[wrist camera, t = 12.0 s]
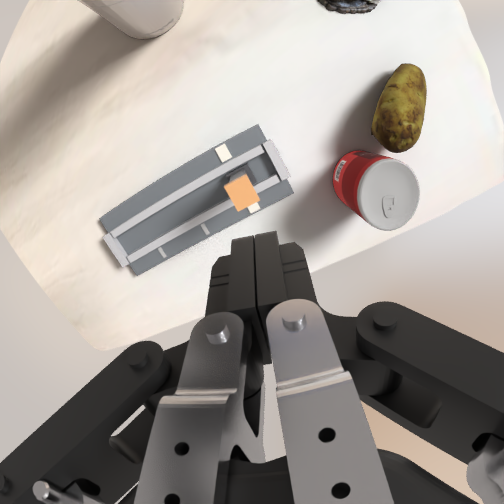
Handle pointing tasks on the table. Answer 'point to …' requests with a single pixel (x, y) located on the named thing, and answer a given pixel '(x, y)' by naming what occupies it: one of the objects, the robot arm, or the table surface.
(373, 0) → the grey rough oval piece
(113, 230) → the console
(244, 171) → the fader tab
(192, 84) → the table surface
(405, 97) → the potato
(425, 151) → the table surface
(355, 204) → the canned food
